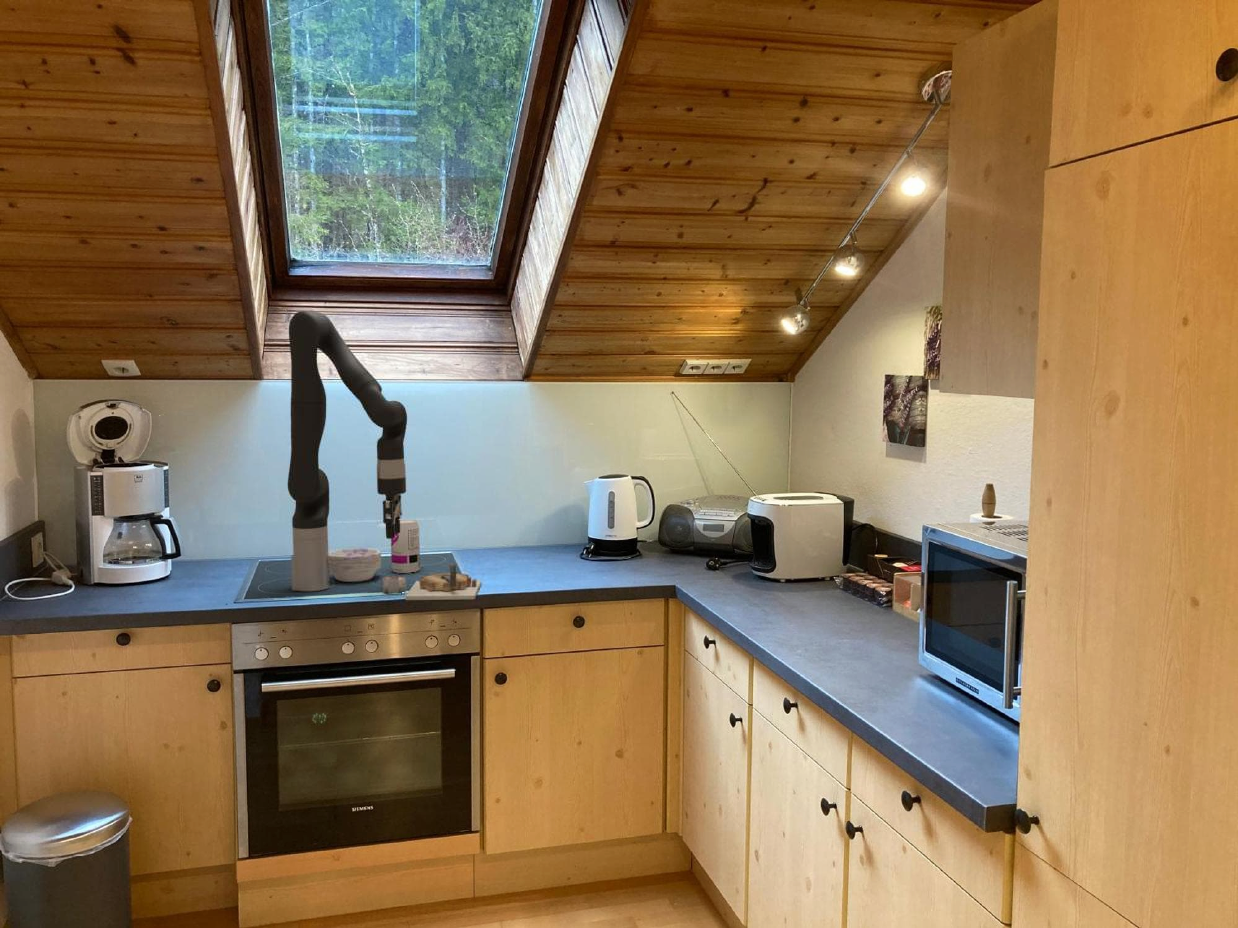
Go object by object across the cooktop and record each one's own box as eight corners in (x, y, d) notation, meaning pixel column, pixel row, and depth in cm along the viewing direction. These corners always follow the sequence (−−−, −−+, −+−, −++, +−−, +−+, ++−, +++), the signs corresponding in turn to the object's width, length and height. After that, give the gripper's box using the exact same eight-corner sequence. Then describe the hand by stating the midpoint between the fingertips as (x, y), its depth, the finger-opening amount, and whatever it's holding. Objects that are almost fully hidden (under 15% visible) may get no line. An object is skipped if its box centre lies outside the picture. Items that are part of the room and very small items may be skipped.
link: (404, 593, 276) (404, 578, 275) (382, 593, 276) (381, 578, 275) (406, 590, 279) (406, 575, 279) (384, 591, 279) (383, 576, 278)
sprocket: (443, 594, 268) (442, 567, 268) (410, 584, 280) (409, 558, 279) (486, 586, 278) (485, 560, 277) (452, 577, 289) (452, 552, 289)
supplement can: (394, 575, 300) (393, 524, 298) (389, 569, 307) (388, 520, 306) (422, 572, 303) (421, 522, 301) (416, 567, 310) (415, 518, 309)
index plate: (405, 600, 268) (405, 590, 268) (416, 584, 287) (416, 575, 287) (474, 599, 269) (474, 589, 268) (481, 583, 288) (481, 574, 287)
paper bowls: (371, 571, 305) (370, 545, 304) (389, 580, 292) (388, 553, 291) (320, 577, 297) (319, 550, 296) (336, 587, 284) (335, 558, 283)
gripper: (401, 478, 267) (403, 540, 269) (409, 472, 281) (411, 531, 283) (371, 479, 267) (374, 540, 269) (382, 473, 281) (384, 531, 283)
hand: (393, 535), depth 276 cm, fingers open, 8 cm apart
